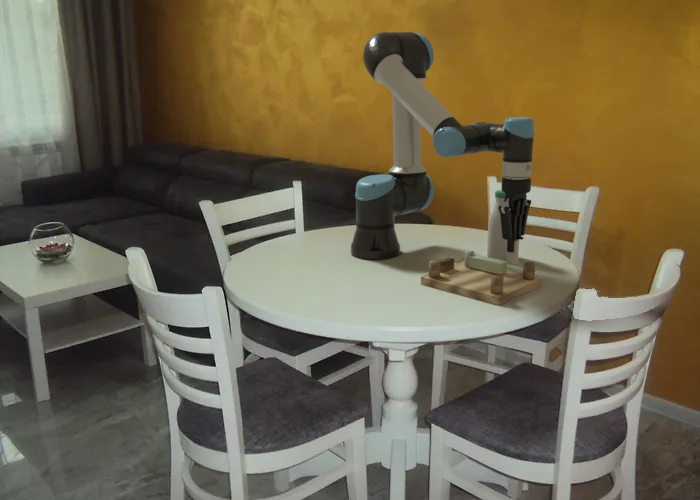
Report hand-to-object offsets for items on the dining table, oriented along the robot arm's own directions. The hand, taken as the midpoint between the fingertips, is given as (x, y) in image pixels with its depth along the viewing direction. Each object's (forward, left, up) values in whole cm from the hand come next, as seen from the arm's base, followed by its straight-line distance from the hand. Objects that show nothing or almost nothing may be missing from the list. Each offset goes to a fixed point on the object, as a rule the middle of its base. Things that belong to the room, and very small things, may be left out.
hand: (512, 262), depth 184 cm
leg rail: (-4, -7, -1) cm, 9 cm away
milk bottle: (-11, +12, -3) cm, 16 cm away
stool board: (-1, -13, -3) cm, 14 cm away
